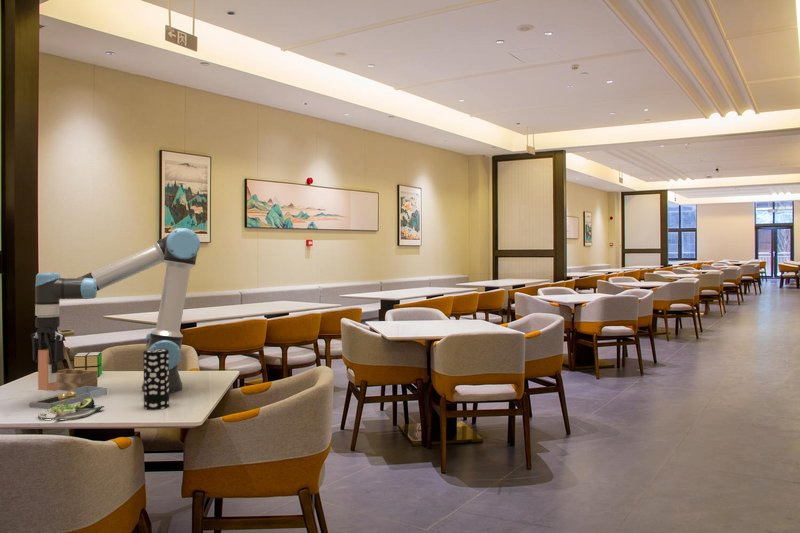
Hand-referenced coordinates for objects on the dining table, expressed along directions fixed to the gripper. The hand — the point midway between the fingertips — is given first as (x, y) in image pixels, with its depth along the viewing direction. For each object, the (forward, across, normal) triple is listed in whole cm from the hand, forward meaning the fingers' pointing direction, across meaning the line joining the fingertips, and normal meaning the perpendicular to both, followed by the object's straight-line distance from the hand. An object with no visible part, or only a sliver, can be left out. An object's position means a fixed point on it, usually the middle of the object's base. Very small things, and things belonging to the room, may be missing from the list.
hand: (47, 381), depth 222 cm
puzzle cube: (+9, +34, -50) cm, 61 cm away
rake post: (+3, 0, 0) cm, 3 cm away
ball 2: (+9, 0, -10) cm, 13 cm away
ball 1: (+9, 0, -6) cm, 11 cm away
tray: (+9, 0, -18) cm, 20 cm away
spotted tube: (+9, -37, -12) cm, 40 cm away
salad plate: (+10, -16, +5) cm, 19 cm away
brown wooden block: (+9, +17, -26) cm, 32 cm away
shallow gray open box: (+9, 0, -5) cm, 10 cm away
